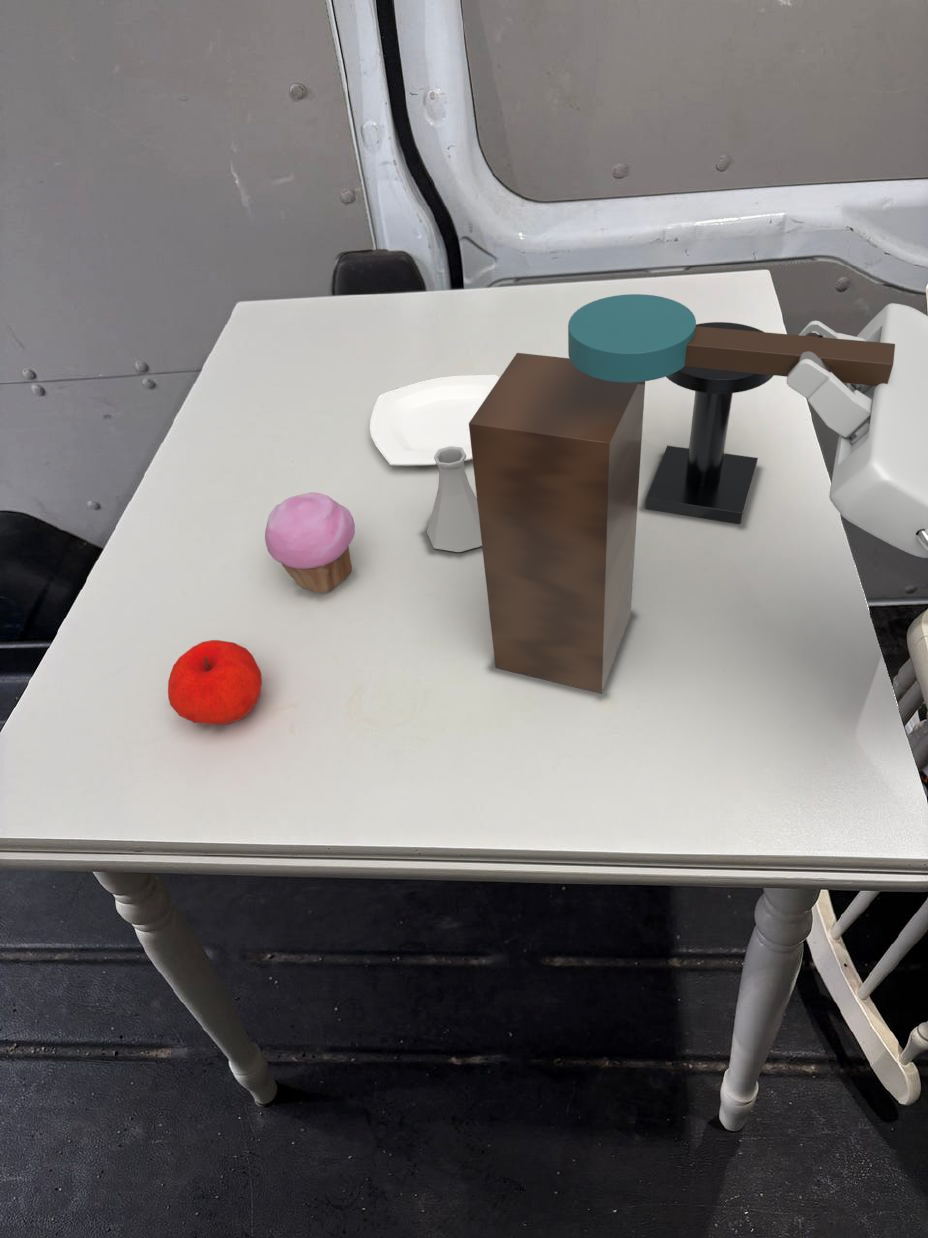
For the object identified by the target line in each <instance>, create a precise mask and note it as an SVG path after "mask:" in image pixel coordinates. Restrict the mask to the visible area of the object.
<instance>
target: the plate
mask: <svg viewBox="0 0 928 1238" xmlns="http://www.w3.org/2000/svg"><path fill="white" fill-rule="evenodd" d="M500 377H501V376H499V375H498V374H468V375H467V374H466V375H465V374H464V375H452V376H451V375H450V376H442V377H435V378H432V379H427V380H422V381H419V382H415V383H412V384H408V385H405V386H404V385H403V386H402V387H399V388H395V389H392V390H390V391H387V392H383V393H381V394H379V395H378V398H377V399H376V402H375V404H374V406H373V409H372V412H371V415H370V420H369V433H370V437H371V439H372V441H373V443H374V445H375V447H376V448H377V450H378V451H379V452H380V453H381V456H383V458H384V459H385V460H386V462H387V463H388V464H389V465H390V466H407V467H408V466H435V465H437V463H436V461H435V459H434V456H435V454H436V453H437V451H438V449H442V448H446V447H449V446H453V447H461V448H463V450H464V452H465V454H466V459H465V461H471V460H473V458H472V449H471V440H470V431H469V422H470V421H471V419H472V418H473V416H474V415H475V413H476V412H477V411H478V409H479V408H480V406H481V405H482V403H483V402H484V400H485V399H486V397H487V396H488V394H489V393H490V392H491V390H492V389H493V387H494V386H495V384H496V383H497V381H498V380H499V378H500ZM465 461H464V462H465ZM437 466H438V465H437Z"/></svg>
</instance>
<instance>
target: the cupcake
mask: <svg viewBox="0 0 928 1238" xmlns="http://www.w3.org/2000/svg"><path fill="white" fill-rule="evenodd" d="M355 533H356V524H355V520H354V517H353V515H352V513H351V511H350V510H349V508H347V507H346V506H344V505H342V504H340V503H339V502H337V501H335V500H334V499H333V498H332V497H330V496H329V495H326V494H324V493H320V492H313V491H311V492H307V493H306V492H305V493H301V494H297V495H294V496H290V497H287V498H286V499H284V500H282V502H281V503H279V504H277V505H276V506H274V508H273V509H272V510H271V511H270V512H269V515H268V517H267V521H266V526H265V532H264V541H265V547H266V548H267V549H266V550H267V552H268V553H269V555H270V556H271V558H272V559H273V560H275V561H276V562H277V563H278V562H279V563H280V564H281V566H282V567H283V568H284V569H285V571H286V572H287V573H288V575H290V577H291V578H292V579H294V581H295V582H296V583H297V584H298V586H299V587H300V588H306V589H308V590H310V591H312V592H313V593H318V594H326V593H329V592H331V591H332V590H333V589H334V588H336V587H337V586H338V585H339V584H340V583H342V582H343V581H345V580H346V579H347V577H348V576H349V575H350V574H352V570H353V567H352V560H351V552H350V545H351V543H352V541H353V539H354V537H355Z"/></svg>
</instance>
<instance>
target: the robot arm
mask: <svg viewBox="0 0 928 1238" xmlns="http://www.w3.org/2000/svg"><path fill="white" fill-rule="evenodd" d="M798 335H801V336H812V337H824V338H835V339H847V340H858V341H870V342H881V343H892V344H895V352H894V363H893V367H892V371H891V374H890V378H889V381H888V384H879V385H877V386H872V385H862V384H853V383H847V385H846V384H845V383H843V382H841V381H840V380H839V379H838V378H837V377H836V376H835V375H834V374H833V373H832V372H830V368H831V365H830V364H829V363H827V362H826V361H824V360H823V359H821V358H818V356H817V355H816V354H814V353H813V352H809V351H807V352H803V353H802V354H801V355H800V356H799V357H798V359H797V360H796V361H795V362H794V363H793V364H792V365H791V367H790V370H789V373H788V376H787V377H786V385H787V386H788V387H789V388H791V390H794V391H795V392H796V393H798V394H799V395H801V396H802V397H804V398H805V399H807V402H808V403H809V404H810V406H811V407H812V408H813V409H814V411H815V412H816V413H817V415H818V416H819V417H820V419H821V420H822V421H823V422H824V424H825V425H826V426H827V428H829V429H831V430H833V431H834V432H836V433H837V434H838V440H837V446H836V452H835V458H834V464H833V470H832V477H831V483H830V487H829V493H828V494H829V495H828V496H829V500H830V502H831V503H832V505H833V506H834V508H835V510H836V511H837V512H838V513H839V515H841V517H843V518H844V519H846V520H847V521H848V522H850V523H851V524H852V525H854V526H856V527H858V528H859V529H861V530H863V531H864V532H866V533H868V534H870V535H872V536H873V537H875V538H877V539H879V540H881V541H883V542H885V543H886V544H889V545H891V546H892V547H895V548H896V549H899V550H901V551H902V552H904V553H907V554H909V555H912V556H915V557H916V558H917V557H918V558H922V559H928V315H927V314H925V313H924V312H922V311H920V310H918V309H916V308H914V307H912V306H909V305H906V304H901V303H895V302H892V303H888V304H886V306H884V307H883V308H882V309H881V310H880V311H879V312H878V313H877V314H876V315H875V316H874V317H873V318H872V319H871V320H870V321H869V322H868V323H867V324H866V325H865V327H864V328H863V329H861V331H859V333H858V334H857V335H856V336H855V335H850V334H845V333H841V332H836V331H835V330H833V329H832V328H830V327H828V326H827V325H826V324H824V323H823V322H821V321H819V320H811V321H810V322H808V324H807V325H805V327H804V328H803V329H802V330H801V331H800V332H799V333H798Z"/></svg>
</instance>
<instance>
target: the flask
mask: <svg viewBox="0 0 928 1238" xmlns="http://www.w3.org/2000/svg"><path fill="white" fill-rule="evenodd" d="M434 459H435V461H436V463H437V468H438V486H437V491H436V494H435V499H434V504H433V508H432V512H431V515H430V518H429V521H428V525H427V529H426V534H427V536H428V539H429V541H430V544H431V545H432V547H433V549H435V550H441V551H449V552H454V553H462V552H465V551H469V550H473V549H476V548H479V547H482V540H481V531H480V522H479V513H478V504H477V495H475V492H474V490H473V488H472V486H471V484H470V481H469V479H468V476H467V472H466V467H465V459H466V454H465V452H464V450H463V448H461V447H453V446H449V447H446V448H442V449H438V451H437V453H436V454H435V456H434Z"/></svg>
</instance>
